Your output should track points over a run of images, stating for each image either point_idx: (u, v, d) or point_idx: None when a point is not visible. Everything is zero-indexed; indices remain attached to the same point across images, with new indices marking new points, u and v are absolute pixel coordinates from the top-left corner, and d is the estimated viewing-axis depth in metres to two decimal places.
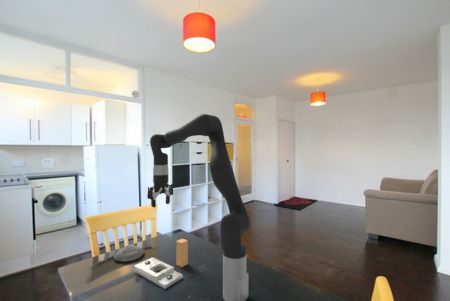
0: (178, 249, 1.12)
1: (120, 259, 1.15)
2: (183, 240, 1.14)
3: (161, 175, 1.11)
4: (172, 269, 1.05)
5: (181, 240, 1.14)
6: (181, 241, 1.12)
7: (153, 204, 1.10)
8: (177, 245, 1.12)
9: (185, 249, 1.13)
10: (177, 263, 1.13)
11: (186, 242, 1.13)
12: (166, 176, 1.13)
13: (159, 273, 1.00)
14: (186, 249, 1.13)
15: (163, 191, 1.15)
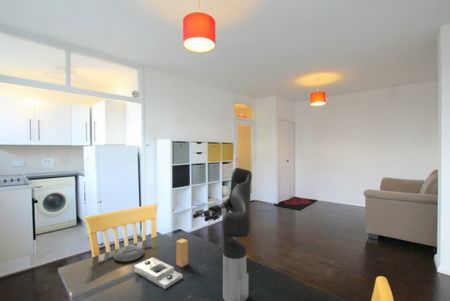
0: (178, 249, 1.12)
1: (120, 259, 1.15)
2: (183, 240, 1.14)
3: None
4: (172, 269, 1.05)
5: (181, 240, 1.14)
6: (181, 241, 1.12)
7: None
8: (177, 245, 1.12)
9: (185, 249, 1.13)
10: (177, 263, 1.13)
11: (186, 242, 1.13)
12: (216, 205, 1.36)
13: (159, 273, 1.00)
14: (186, 249, 1.13)
15: (208, 213, 1.29)
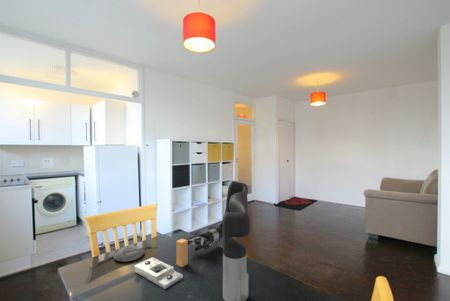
0: (178, 249, 1.12)
1: (120, 259, 1.15)
2: (183, 240, 1.14)
3: (206, 231, 1.31)
4: (172, 269, 1.05)
5: (181, 240, 1.14)
6: (181, 241, 1.12)
7: None
8: (177, 245, 1.12)
9: (185, 249, 1.13)
10: (177, 263, 1.13)
11: (186, 242, 1.13)
12: (208, 231, 1.29)
13: (159, 273, 1.00)
14: (186, 249, 1.13)
15: (199, 240, 1.23)
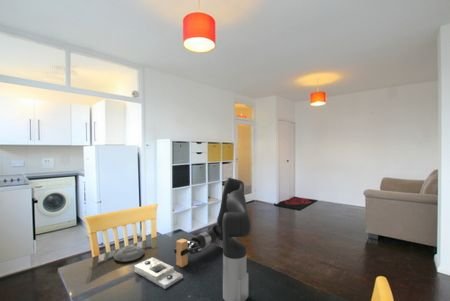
0: (178, 249, 1.12)
1: (120, 259, 1.15)
2: (183, 240, 1.14)
3: None
4: (172, 269, 1.05)
5: (181, 240, 1.14)
6: (181, 241, 1.12)
7: None
8: (177, 245, 1.12)
9: None
10: (177, 263, 1.13)
11: (186, 242, 1.13)
12: (200, 235, 1.24)
13: (159, 273, 1.00)
14: None
15: None
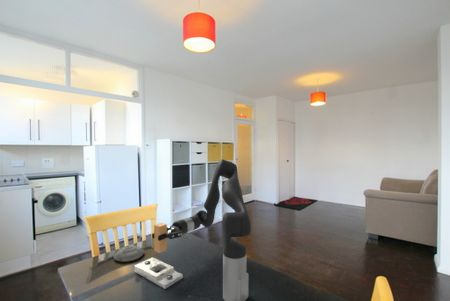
0: (156, 234, 1.04)
1: (120, 259, 1.15)
2: (162, 224, 1.05)
3: None
4: (172, 269, 1.05)
5: (159, 224, 1.05)
6: (159, 225, 1.04)
7: None
8: (155, 229, 1.04)
9: None
10: (155, 249, 1.04)
11: (165, 226, 1.05)
12: (182, 220, 1.15)
13: (159, 273, 1.00)
14: None
15: (170, 230, 1.09)
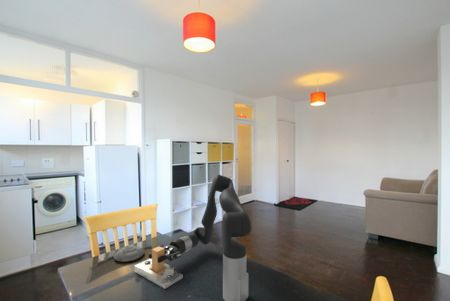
0: (153, 258, 1.03)
1: (120, 259, 1.15)
2: (159, 248, 1.04)
3: (177, 239, 1.16)
4: (172, 269, 1.05)
5: (157, 248, 1.04)
6: (157, 249, 1.03)
7: None
8: (152, 253, 1.03)
9: None
10: None
11: (162, 250, 1.04)
12: (180, 239, 1.14)
13: (159, 273, 1.00)
14: None
15: (168, 250, 1.08)
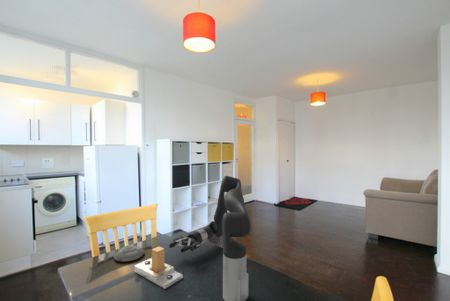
0: (153, 258, 1.03)
1: (120, 259, 1.15)
2: (159, 248, 1.04)
3: None
4: (172, 269, 1.05)
5: (157, 248, 1.04)
6: (157, 249, 1.03)
7: None
8: (152, 253, 1.03)
9: (161, 258, 1.03)
10: None
11: (162, 250, 1.04)
12: (196, 232, 1.24)
13: (159, 273, 1.00)
14: (162, 258, 1.04)
15: (186, 241, 1.18)
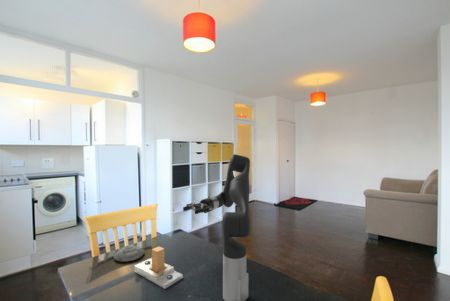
0: (153, 258, 1.03)
1: (120, 259, 1.15)
2: (159, 248, 1.04)
3: None
4: (172, 269, 1.05)
5: (157, 248, 1.04)
6: (157, 249, 1.03)
7: None
8: (152, 253, 1.03)
9: (161, 258, 1.03)
10: None
11: (162, 250, 1.04)
12: (208, 198, 1.29)
13: (159, 273, 1.00)
14: (162, 258, 1.04)
15: (199, 205, 1.23)
